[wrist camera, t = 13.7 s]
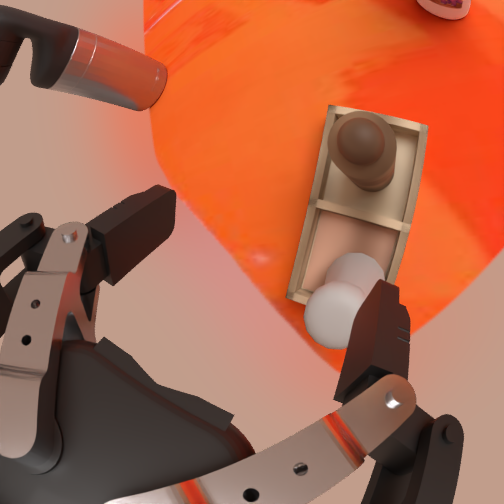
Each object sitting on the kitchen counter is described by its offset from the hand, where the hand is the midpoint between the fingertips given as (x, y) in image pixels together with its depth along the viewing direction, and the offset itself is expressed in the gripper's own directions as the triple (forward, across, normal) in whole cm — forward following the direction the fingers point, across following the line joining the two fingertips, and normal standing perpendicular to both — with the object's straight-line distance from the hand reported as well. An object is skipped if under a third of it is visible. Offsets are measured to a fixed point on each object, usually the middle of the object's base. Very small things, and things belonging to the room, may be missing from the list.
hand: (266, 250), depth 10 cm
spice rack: (+20, -5, +6) cm, 21 cm away
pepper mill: (+21, -4, +2) cm, 21 cm away
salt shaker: (+16, -7, +11) cm, 20 cm away
